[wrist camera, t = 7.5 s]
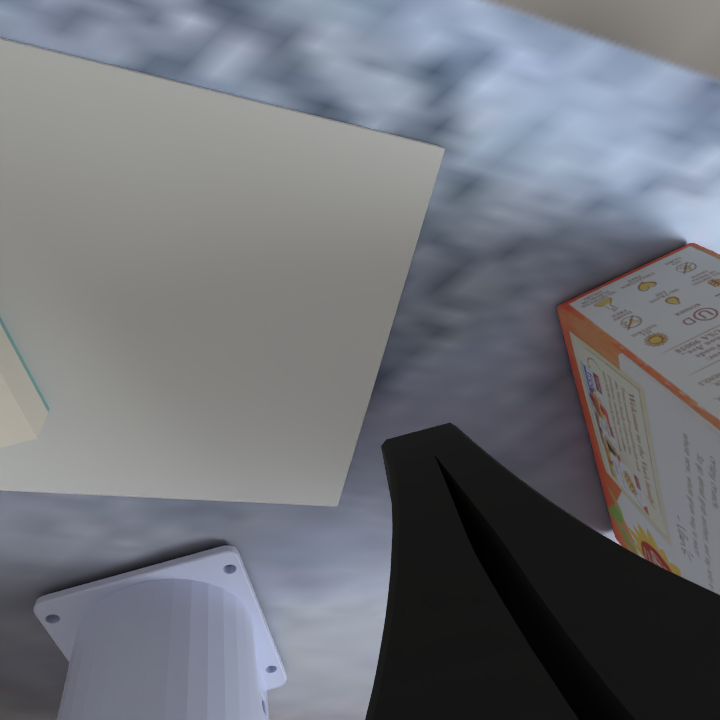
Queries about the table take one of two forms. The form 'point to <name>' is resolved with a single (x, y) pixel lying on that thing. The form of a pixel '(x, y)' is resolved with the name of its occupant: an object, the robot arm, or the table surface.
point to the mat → (195, 281)
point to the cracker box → (655, 406)
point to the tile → (18, 396)
